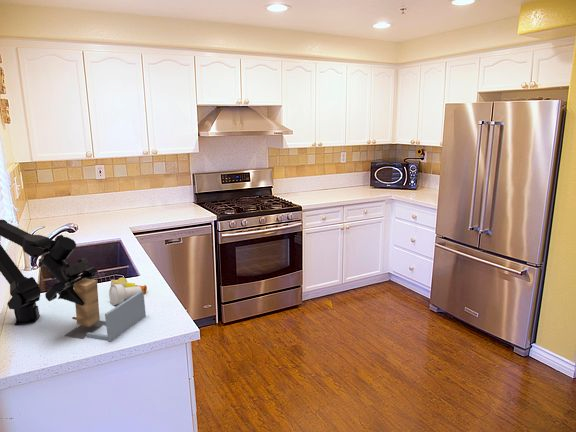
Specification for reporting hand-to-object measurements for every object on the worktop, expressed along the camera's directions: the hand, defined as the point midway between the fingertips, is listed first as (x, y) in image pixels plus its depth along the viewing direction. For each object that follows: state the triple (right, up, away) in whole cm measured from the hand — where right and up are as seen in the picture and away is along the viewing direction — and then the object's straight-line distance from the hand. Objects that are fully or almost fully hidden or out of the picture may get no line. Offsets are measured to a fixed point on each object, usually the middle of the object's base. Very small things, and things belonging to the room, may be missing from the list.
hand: (89, 301), depth 141 cm
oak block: (-3, -7, +3) cm, 9 cm away
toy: (+1, -3, +36) cm, 36 cm away
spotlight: (+2, -6, +25) cm, 26 cm away
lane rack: (+8, -10, +5) cm, 13 cm away
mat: (-2, -10, +3) cm, 11 cm away
